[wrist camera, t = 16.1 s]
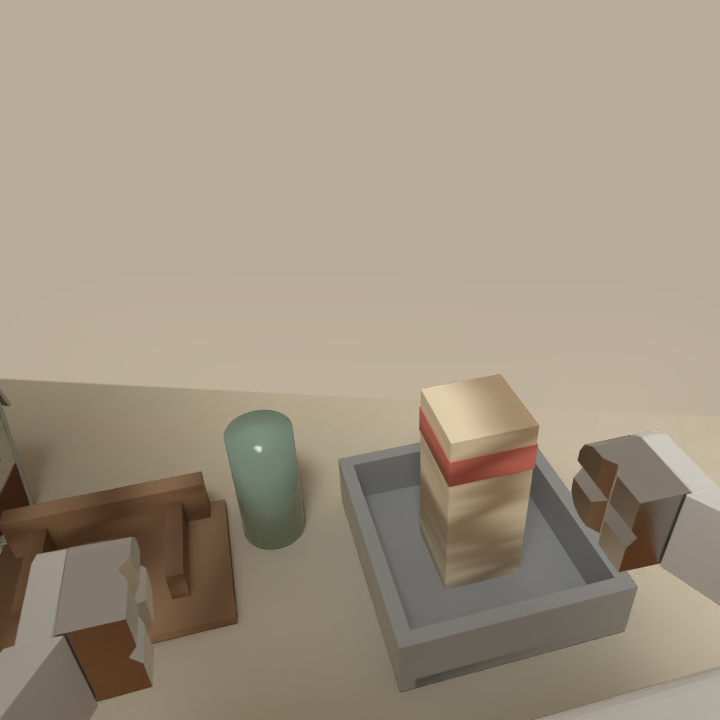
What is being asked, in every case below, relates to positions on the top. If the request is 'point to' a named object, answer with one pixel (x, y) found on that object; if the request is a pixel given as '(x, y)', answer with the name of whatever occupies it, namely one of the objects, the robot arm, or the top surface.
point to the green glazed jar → (266, 478)
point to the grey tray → (481, 599)
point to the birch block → (475, 478)
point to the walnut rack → (156, 542)
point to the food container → (10, 470)
